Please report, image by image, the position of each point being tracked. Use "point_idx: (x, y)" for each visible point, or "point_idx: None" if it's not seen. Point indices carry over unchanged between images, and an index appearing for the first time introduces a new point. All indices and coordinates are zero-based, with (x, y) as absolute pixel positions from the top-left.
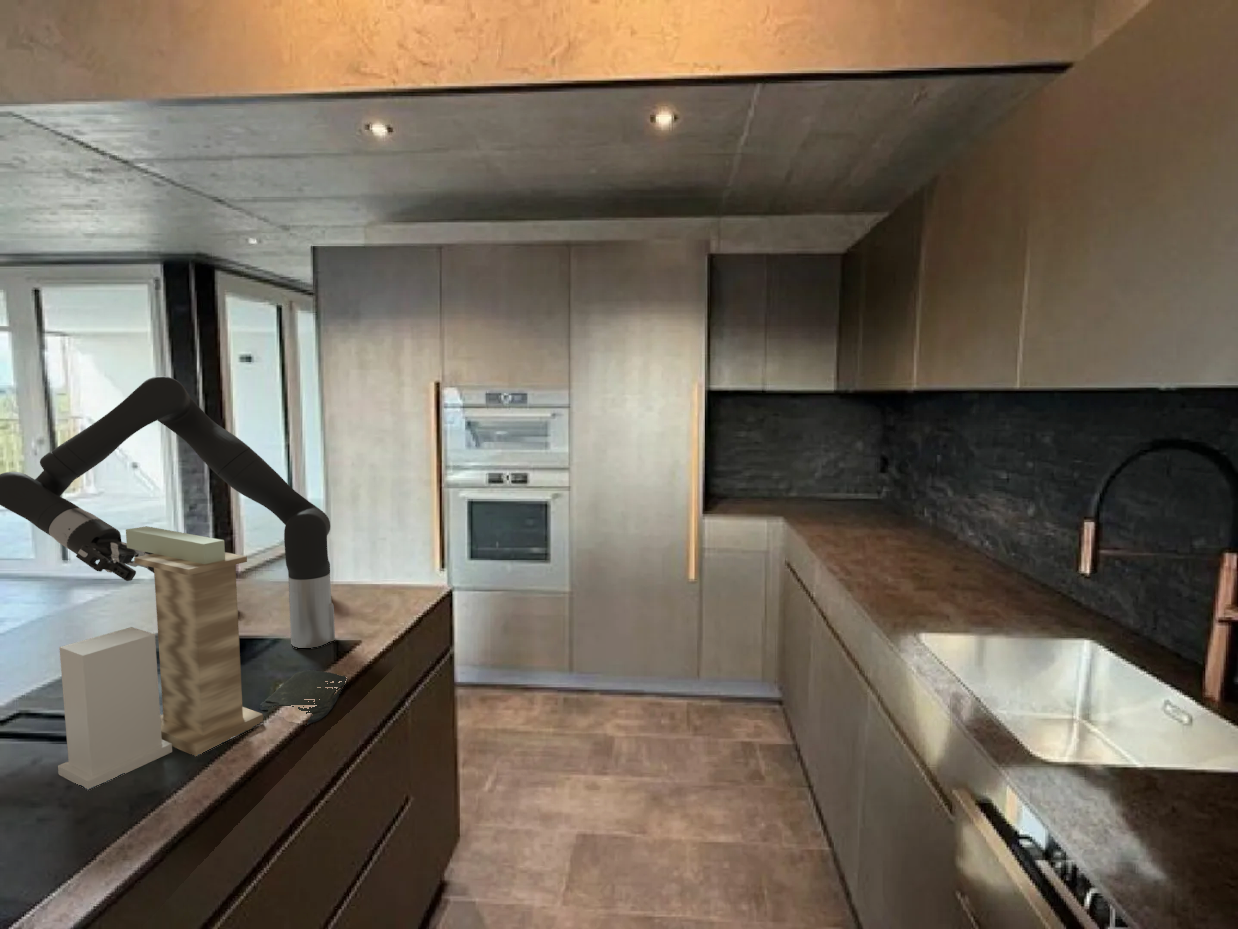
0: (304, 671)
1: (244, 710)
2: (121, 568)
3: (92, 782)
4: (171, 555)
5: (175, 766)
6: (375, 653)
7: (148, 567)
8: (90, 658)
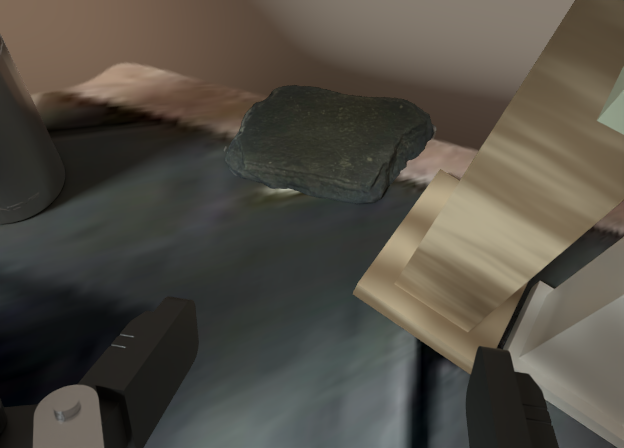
0: (244, 148)
1: (428, 199)
2: (548, 426)
3: None
4: None
5: (568, 263)
6: (143, 66)
7: (136, 446)
8: None
